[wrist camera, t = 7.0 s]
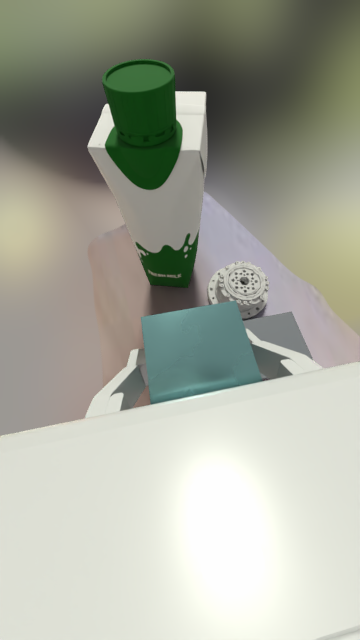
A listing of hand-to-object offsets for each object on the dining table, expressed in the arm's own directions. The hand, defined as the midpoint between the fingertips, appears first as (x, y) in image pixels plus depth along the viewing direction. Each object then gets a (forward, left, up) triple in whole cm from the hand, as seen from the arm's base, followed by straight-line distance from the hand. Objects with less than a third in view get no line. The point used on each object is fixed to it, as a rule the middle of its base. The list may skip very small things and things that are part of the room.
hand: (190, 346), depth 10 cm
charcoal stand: (+12, -1, -13) cm, 18 cm away
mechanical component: (+11, +9, -14) cm, 20 cm away
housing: (0, -1, -5) cm, 5 cm away
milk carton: (0, +16, -13) cm, 21 cm away
